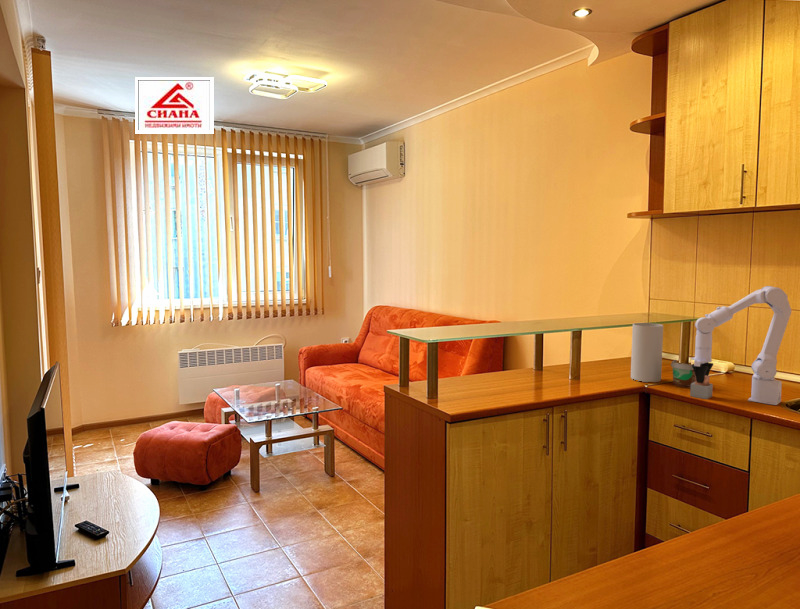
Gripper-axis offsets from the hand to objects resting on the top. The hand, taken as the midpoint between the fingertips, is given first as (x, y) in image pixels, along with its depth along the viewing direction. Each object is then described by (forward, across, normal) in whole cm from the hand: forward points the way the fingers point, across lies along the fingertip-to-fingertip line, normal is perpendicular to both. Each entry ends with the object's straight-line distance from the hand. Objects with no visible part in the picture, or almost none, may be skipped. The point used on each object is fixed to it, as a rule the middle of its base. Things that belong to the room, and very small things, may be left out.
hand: (701, 381), depth 220 cm
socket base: (+6, 0, 0) cm, 6 cm away
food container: (+6, -14, -12) cm, 19 cm away
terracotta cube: (+2, 0, 0) cm, 2 cm away
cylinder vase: (+6, -14, -27) cm, 31 cm away
